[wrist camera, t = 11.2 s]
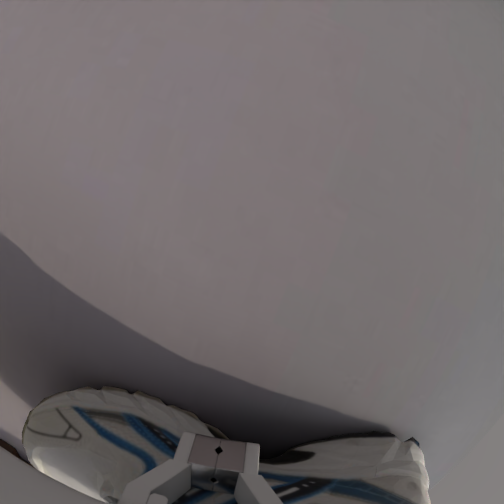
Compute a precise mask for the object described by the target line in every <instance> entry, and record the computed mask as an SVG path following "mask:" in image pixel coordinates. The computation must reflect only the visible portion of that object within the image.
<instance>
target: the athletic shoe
mask: <svg viewBox="0 0 504 504" xmlns="http://www.w3.org/2000/svg"><path fill="white" fill-rule="evenodd" d="M184 431H188V432H192V433H196V434H201V435H205V436H210V437H215V438H220V439H221V438H222V439H228V438H227V437H226V436H225V435H224V434H223V433H222V432H221V431H220V430H219V429H217V428H215V427H213V426H211V425H209V424H205V423H203V422H201V421H200V420H199V419H198V417H197V415H195V414H193V413H192V412H190V411H186V410H182V409H179V408H178V407H176V406H174V405H170V406H166V405H165V404H164V403H163V402H162V401H161V400H160V399H159V398H156V397H153V396H149V395H147V394H145V393H142V392H140V391H136V392H135V393H133V394H129V393H128V392H127V390H125V389H121V388H116V387H108V386H103V387H102V388H101V389H100V390H95V389H93V388H91V387H89V386H88V387H84V388H80V389H76V390H74V391H69V392H68V391H63V392H59V393H57V394H54V395H52V396H50V397H47V398H44V399H43V400H42V401H41V402H40V403H39V404H38V405H37V406H36V407H35V408H34V409H33V410H32V411H30V413H29V415H28V418H27V420H26V422H25V425H24V428H23V431H22V443H23V446H24V448H25V451H26V454H27V457H28V460H29V461H30V463H31V464H32V465H33V466H34V467H35V468H36V469H37V470H39V471H40V472H42V473H44V474H46V475H48V476H49V477H51V478H53V479H55V480H57V481H59V482H61V483H63V484H65V485H67V486H69V487H71V488H73V489H75V490H77V491H79V492H82V493H84V494H86V495H88V496H91V497H93V498H95V499H98V500H100V501H103V502H105V503H108V504H118V502H119V500H120V497H121V495H122V493H123V491H124V489H125V487H126V484H127V483H129V482H131V481H132V480H134V479H136V478H138V477H140V476H141V475H143V474H145V473H147V472H148V471H150V470H152V469H153V468H155V467H157V466H159V465H160V464H162V463H163V462H165V461H167V460H168V459H173V458H174V456H175V453H176V450H177V447H178V444H179V441H180V438H181V435H182V433H183V432H184ZM228 440H229V439H228ZM258 475H262V476H263V478H264V479H265V480H266V482H267V483H268V484H269V486H270V487H271V488H272V490H273V491H274V492H275V494H276V495H277V496H278V497H279V499H280V500H281V501H282V502H283V504H431V502H430V499H429V495H428V492H427V490H428V487H429V478H428V474H427V471H426V468H425V462H424V456H423V453H422V451H421V449H420V447H419V443H418V442H417V441H416V440H415V439H414V438H413V437H412V438H410V439H408V440H406V441H405V442H400V440H399V439H398V438H397V437H396V436H395V435H393V434H391V433H389V432H384V433H381V432H375V431H372V432H370V433H368V434H361V433H358V434H346V435H340V436H335V437H331V438H328V439H326V440H320V441H312V442H309V443H305V444H301V445H298V446H296V447H293V448H290V449H289V450H287V451H286V452H285V453H284V454H282V455H281V456H278V457H275V458H271V459H259V468H258ZM212 490H213V489H212ZM172 504H238V503H237V501H236V499H235V498H234V495H231V494H225V493H220V492H214V491H209V490H203V489H197V488H192V487H191V489H189V490H188V491H187V492H186V493H184V494H183V495H182V496H181V497H179V498H178V499H177V500H176V501H174V502H173V503H172Z"/></svg>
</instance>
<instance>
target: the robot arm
mask: <svg viewBox="0 0 504 504" xmlns="http://www.w3.org/2000/svg"><path fill="white" fill-rule="evenodd" d="M259 452H260V445H259V444H256V443H248V442H247V443H246V442H242V441H235V440H228V439H222V438H221V439H220V438H215V437H210V436H205V435H201V434H196V433H192V432H188V431H184V432H183V433H182V435H181V438H180V441H179V444H178V447H177V450H176V453H175V456H174V458H173V459H168V460H167V461H165V462H163V463H162V464H160V465H159V466H157V467H155V468H153V469H152V470H150V471H148V472H147V473H145V474H143V475H141V476H140V477H138V478H136V479H134V480H132V481H131V482H129V483H127V484H126V487H125V489H124V491H123V493H122V495H121V497H120V500H119V502H118V504H172V503H173V502H174V501H176V500H177V499H178V498H179V497H181V496H182V495H183V494H184V493H186V492H187V491H188V490H189V489H191V487H192V488H197V489H203V490H209V491H214V492H220V493H225V494H231V495H234V498H235V499H236V501H237V503H238V504H283V502H282V501H281V500H280V499H279V497H278V496H277V495H276V494H275V492H274V491H273V490H272V488H271V487H270V486H269V484H268V483H267V482H266V480H265V479H264V478H263V476H262V475H258V468H259ZM212 489H213V490H212ZM0 504H108V503H105V502H103V501H100V500H98V499H95V498H93V497H91V496H88V495H86V494H84V493H82V492H79V491H77V490H75V489H73V488H71V487H69V486H67V485H65V484H63V483H61V482H59V481H57V480H55V479H53V478H51V477H49V476H48V475H46V474H44V473H42V472H40V471H39V470H37V469H35V468H34V467H32V466H30V465H29V464H27V463H25V462H24V461H22V460H21V459H19V458H17V457H16V456H14V455H13V454H11V453H10V452H8V451H7V450H5V449H4V448H2V447H1V446H0Z"/></svg>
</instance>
